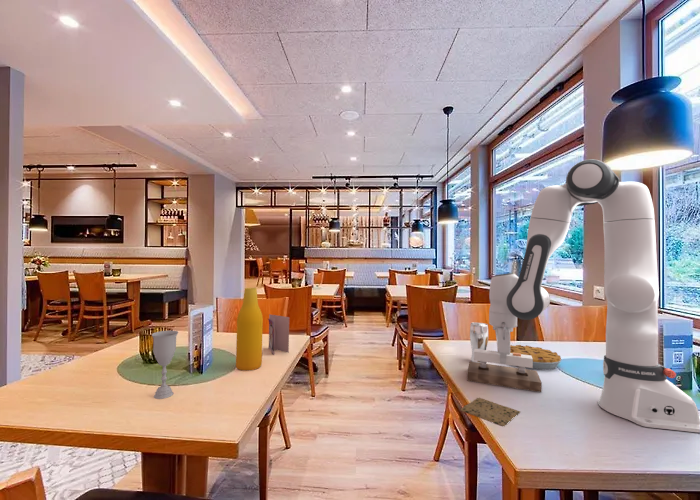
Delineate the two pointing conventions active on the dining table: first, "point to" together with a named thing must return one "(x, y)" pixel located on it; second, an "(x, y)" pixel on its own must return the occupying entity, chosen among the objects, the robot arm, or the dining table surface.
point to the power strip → (511, 359)
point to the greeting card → (278, 333)
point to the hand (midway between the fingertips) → (502, 360)
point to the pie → (538, 356)
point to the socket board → (504, 376)
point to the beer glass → (478, 337)
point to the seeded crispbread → (490, 411)
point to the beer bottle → (249, 333)
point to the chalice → (164, 358)
